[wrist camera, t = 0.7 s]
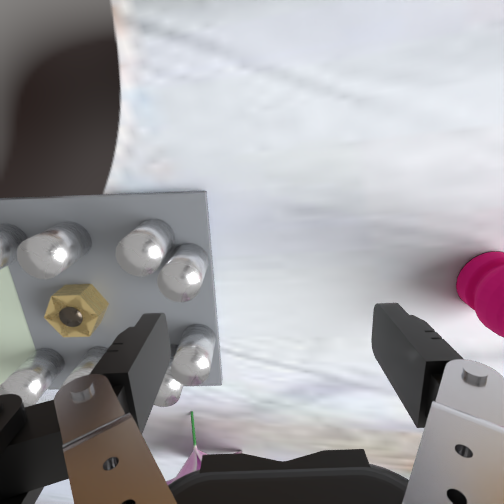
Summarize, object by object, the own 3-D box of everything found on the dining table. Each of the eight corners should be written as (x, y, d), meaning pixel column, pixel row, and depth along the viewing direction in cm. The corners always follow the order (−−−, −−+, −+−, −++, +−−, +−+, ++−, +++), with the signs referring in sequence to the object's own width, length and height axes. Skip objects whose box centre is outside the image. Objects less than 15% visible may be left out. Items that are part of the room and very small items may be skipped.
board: (-130, 202, 30) (-142, 204, 29) (206, 191, 30) (204, 193, 29) (-46, 385, 38) (-54, 391, 37) (222, 379, 38) (221, 385, 37)
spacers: (-15, 224, 30) (-64, 241, 25) (204, 216, 30) (195, 232, 25) (36, 374, 36) (4, 410, 31) (218, 369, 36) (213, 405, 31)
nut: (52, 284, 32) (36, 296, 30) (104, 283, 32) (93, 295, 30) (63, 324, 34) (49, 338, 31) (113, 322, 34) (102, 336, 31)
